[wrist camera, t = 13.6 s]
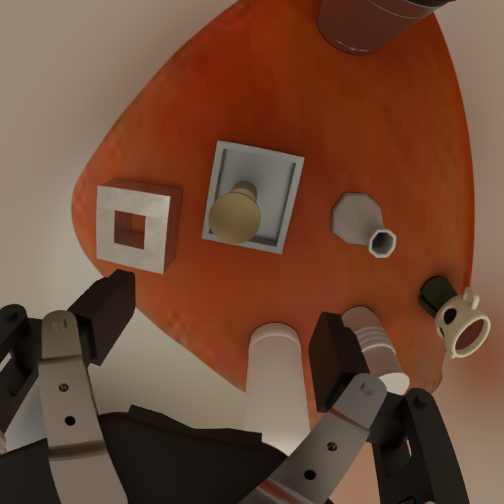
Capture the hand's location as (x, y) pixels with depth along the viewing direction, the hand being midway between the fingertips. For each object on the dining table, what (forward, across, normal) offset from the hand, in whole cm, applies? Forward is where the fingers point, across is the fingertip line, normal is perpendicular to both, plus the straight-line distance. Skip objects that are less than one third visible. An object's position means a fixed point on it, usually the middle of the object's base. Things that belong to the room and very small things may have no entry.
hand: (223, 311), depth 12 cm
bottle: (+26, -8, +22) cm, 35 cm away
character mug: (+26, -32, +8) cm, 42 cm away
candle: (+26, -20, +16) cm, 37 cm away
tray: (+26, 0, 0) cm, 26 cm away
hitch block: (+26, +14, +6) cm, 30 cm away
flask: (+26, -14, 0) cm, 30 cm away
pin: (+25, +1, 0) cm, 25 cm away
